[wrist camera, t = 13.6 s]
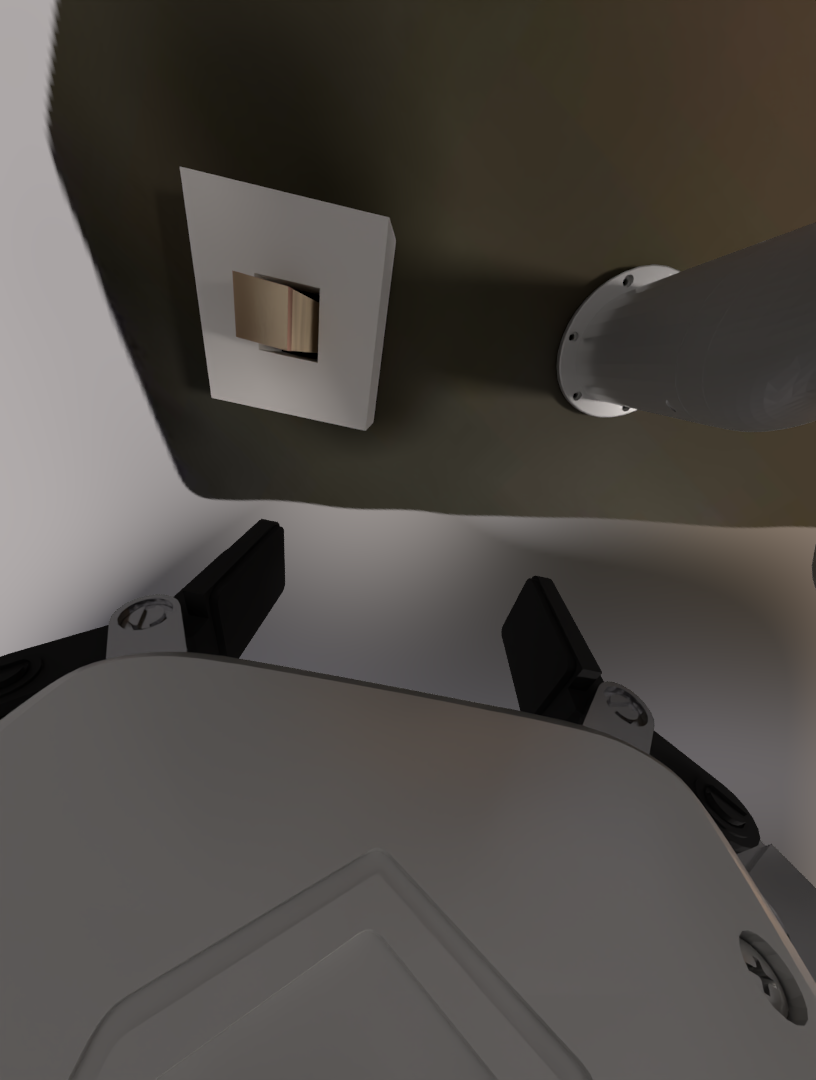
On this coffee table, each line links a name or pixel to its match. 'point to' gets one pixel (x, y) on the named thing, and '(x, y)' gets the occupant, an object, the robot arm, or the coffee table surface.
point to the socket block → (303, 264)
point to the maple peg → (274, 314)
